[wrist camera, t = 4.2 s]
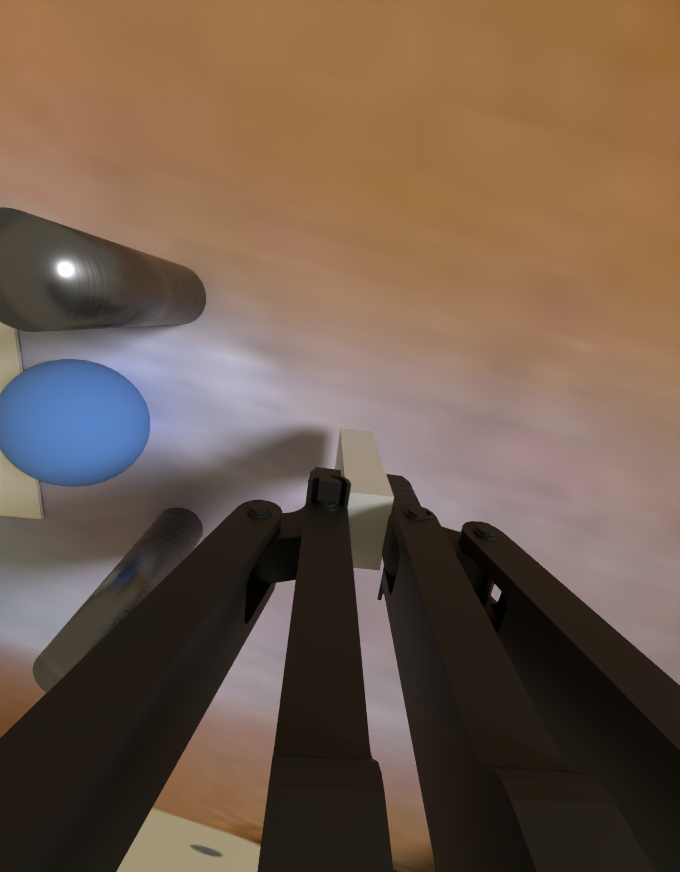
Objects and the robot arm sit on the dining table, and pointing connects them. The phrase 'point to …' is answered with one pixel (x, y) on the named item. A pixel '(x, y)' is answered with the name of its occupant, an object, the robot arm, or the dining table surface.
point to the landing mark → (3, 482)
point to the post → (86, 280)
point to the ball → (72, 422)
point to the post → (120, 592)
